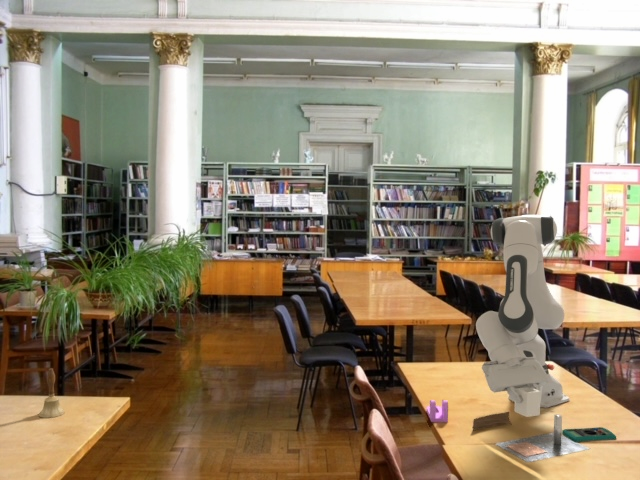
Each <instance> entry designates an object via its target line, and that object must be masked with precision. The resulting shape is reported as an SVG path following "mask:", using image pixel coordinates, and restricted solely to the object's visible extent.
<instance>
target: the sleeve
mask: <svg viewBox="0 0 640 480" xmlns="http://www.w3.org/2000/svg"><path fill="white" fill-rule="evenodd" d="M515 392H516V393H517V394H518V395H521V396H522V398H523V402H522V403H516V401H515V402H514V413H517V414H519V415H520V416H524V417H526V418H528V417H535V416H541V407H540V398H541V391H539V390H536V389H534V388H531V387H521V388H515Z"/></svg>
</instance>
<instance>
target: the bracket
mask: <svg viewBox="0 0 640 480" xmlns="http://www.w3.org/2000/svg"><path fill="white" fill-rule="evenodd" d="M441 401H442V402H441V406H439V405H436V404H437V401H436V400H435V399H430V400H429V405H428V406H426V413H427V415H428V418H429V420H430V422H431V423H449V400H447V399H446V400H445V399H442V400H441Z"/></svg>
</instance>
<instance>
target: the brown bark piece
mask: <svg viewBox="0 0 640 480" xmlns="http://www.w3.org/2000/svg"><path fill="white" fill-rule="evenodd" d="M510 418H511V417H510V411H505V412H499V413H492V414H489V415H484V416H480V417H477V418H475V419H473V421H472V423H473V424H472V431H477V430H481V429H485V428H489V427H498V426H507V425H508V426H511V425H512V423H511V419H510Z"/></svg>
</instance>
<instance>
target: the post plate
mask: <svg viewBox="0 0 640 480" xmlns="http://www.w3.org/2000/svg"><path fill="white" fill-rule="evenodd" d="M562 425H563V416H562V415H561V414H554V416H553V432H549V433H543V434H538V435H534V436H528V437H523V438H517V439H513V440H506V441H503V442H497V443H494V445H495V446H497V447H499V448H500V449H503V450H504V451H506V452H508V453H510V454H512V455H513V456H515V457H517V458H519V459H520V460H523V461H525V462H526V463H532V462H536V461H541V460H545V459H551V458H555V457H560V456H564V455H568V454H569V455H570V454H573V453H579V452H583V451H587V450H590V449H591V448H590V447H588V446H586V445H585V444H582V443H579V442H575V441H573V440H571V439H570V438H568V437H566V436H565V435H563V433H562V430H563V429H562V428H563V426H562Z"/></svg>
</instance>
